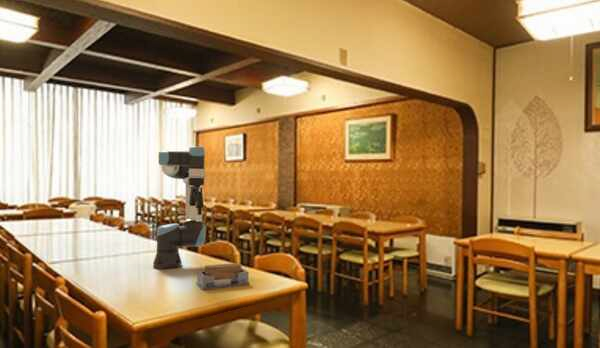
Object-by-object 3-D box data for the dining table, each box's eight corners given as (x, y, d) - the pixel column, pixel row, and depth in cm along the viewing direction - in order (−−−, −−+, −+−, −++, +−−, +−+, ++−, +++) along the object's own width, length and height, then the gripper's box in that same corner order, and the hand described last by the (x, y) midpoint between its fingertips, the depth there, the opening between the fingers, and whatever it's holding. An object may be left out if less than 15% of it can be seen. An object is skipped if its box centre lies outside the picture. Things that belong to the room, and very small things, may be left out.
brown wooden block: (204, 278, 186) (204, 265, 186) (238, 275, 192) (238, 262, 192) (206, 280, 181) (206, 267, 181) (240, 277, 187) (241, 265, 187)
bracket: (196, 284, 186) (196, 271, 186) (241, 279, 196) (241, 267, 196) (202, 290, 176) (202, 276, 176) (249, 284, 187) (249, 271, 187)
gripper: (183, 177, 208) (183, 217, 208) (194, 177, 186) (193, 223, 186) (198, 177, 211) (197, 217, 211) (210, 177, 189) (209, 222, 189)
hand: (195, 220), depth 198 cm, fingers open, 13 cm apart
